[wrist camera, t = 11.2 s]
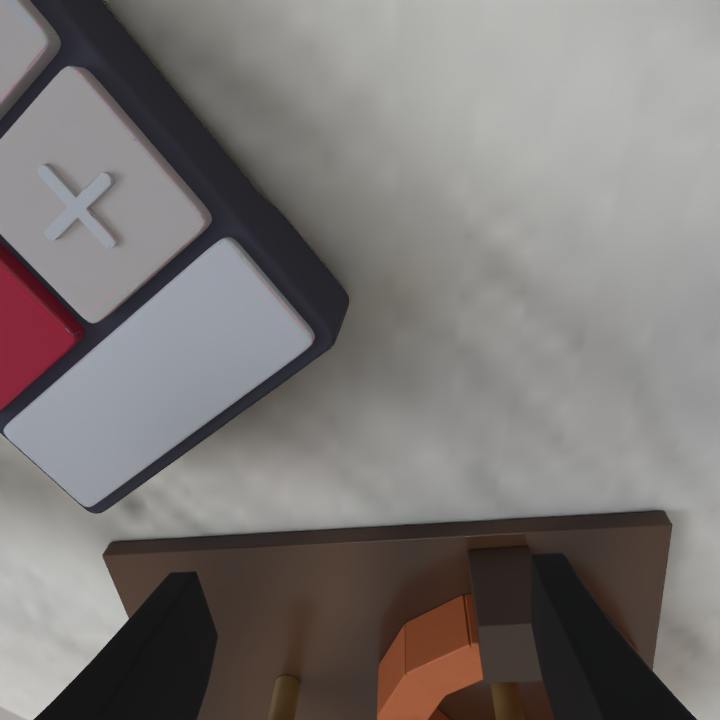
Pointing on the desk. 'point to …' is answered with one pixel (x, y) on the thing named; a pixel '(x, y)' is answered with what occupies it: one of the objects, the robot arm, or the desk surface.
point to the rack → (378, 605)
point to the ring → (464, 640)
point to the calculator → (132, 262)
